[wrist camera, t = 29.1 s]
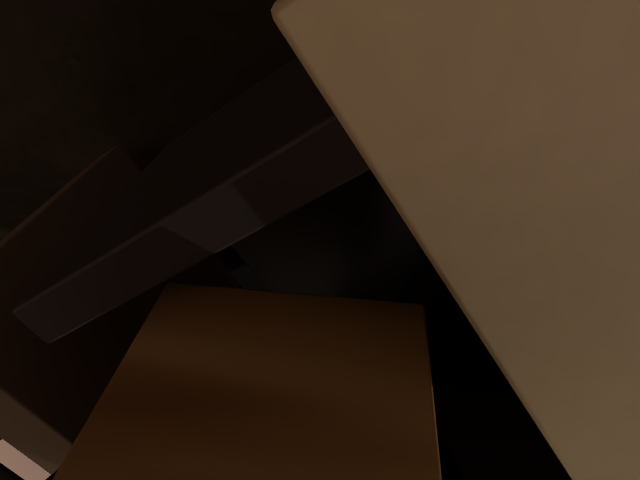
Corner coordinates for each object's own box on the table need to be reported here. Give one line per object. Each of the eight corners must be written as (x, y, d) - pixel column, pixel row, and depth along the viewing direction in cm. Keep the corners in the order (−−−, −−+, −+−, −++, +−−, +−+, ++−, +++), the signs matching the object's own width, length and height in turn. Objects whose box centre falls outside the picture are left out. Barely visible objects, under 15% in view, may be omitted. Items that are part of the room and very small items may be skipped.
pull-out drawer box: (201, 428, 20) (123, 649, 14) (-9, 234, 16) (-246, 428, 10) (671, 249, 14) (890, 511, 8) (519, -145, 10) (730, -229, 4)
